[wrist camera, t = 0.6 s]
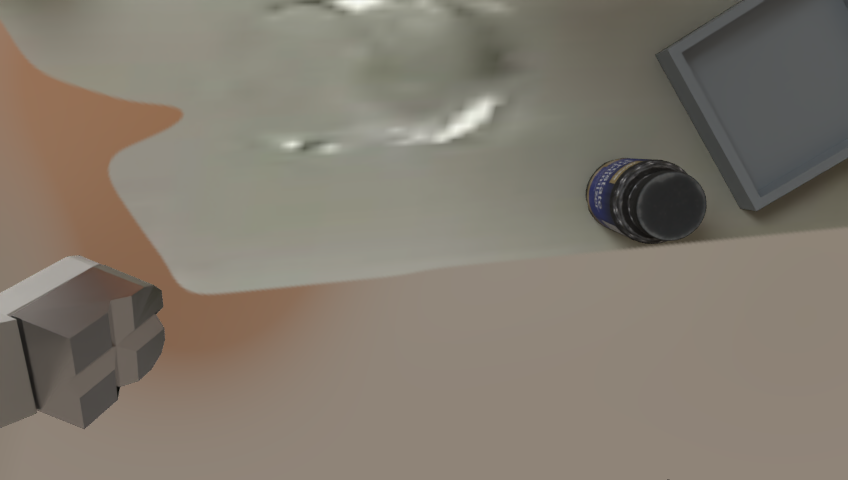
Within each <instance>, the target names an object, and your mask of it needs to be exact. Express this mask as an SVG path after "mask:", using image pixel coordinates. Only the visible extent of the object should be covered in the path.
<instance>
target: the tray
mask: <svg viewBox="0 0 848 480" xmlns="http://www.w3.org/2000/svg"><path fill="white" fill-rule="evenodd" d="M656 57H657V59H658V61H659V62H660V64H661V66H662V68H663V70H664V72H665V73H666V75H667V77H668V79H669V81H670V82H671V84H672V86H673V88H674V90H675V91H676V93H677V95H678V97H679V99H680V100H681V102H682V104H683V106H684V108H685V109H686V111H687V113H688V115H689V117H690V118H691V120H692V122H693V124H694V126H695V127H696V129H697V131H698V133H699V135H700V136H701V138H702V140H703V142H704V144H705V146H706V147H707V149H708V151H709V153H710V155H711V156H712V158H713V160H714V162H715V164H716V165H717V167H718V169H719V171H720V173H721V174H722V176H723V178H724V180H725V182H726V183H727V185H728V187H729V189H730V191H731V192H732V194H733V196H734V198H735V200H736V201H737V203H738V205H739V207H740V208H742V209H747V210H753V211H758V210H759V209H761V208H763V207H764V206H766V205H768V204H770V203H771V202H773V201H775V200H776V199H778V198H780V197H782V196H783V195H785V194H787V193H788V192H790V191H792V190H794V189H795V188H797V187H799V186H800V185H802V184H804V183H806V182H807V181H809V180H811V179H812V178H814V177H816V176H818V175H819V174H821V173H823V172H824V171H826V170H828V169H830V168H831V167H833V166H835V165H836V164H838V163H840V162H842V161H843V160H845V159H847V158H848V0H742V1H741V2H739V3H737V4H736V5H734V6H733V7H731V8H729V9H728V10H726V11H725V12H723V13H721V14H720V15H718V16H717V17H715V18H713V19H712V20H710V21H709V22H707V23H705V24H704V25H702V26H701V27H699V28H697V29H696V30H694V31H693V32H691V33H689V34H688V35H686V36H685V37H683V38H681V39H680V40H678V41H677V42H675V43H673V44H672V45H670V46H669V47H667V48H666V49H664V50H662V51H661V52H659V53H658V54H656Z"/></svg>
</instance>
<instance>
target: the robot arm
mask: <svg viewBox="0 0 848 480" xmlns="http://www.w3.org/2000/svg"><path fill="white" fill-rule="evenodd" d="M162 308H163V299H162V291H161V290H160V289H159V288H157V287H156V286H154V285H152V284H150V283H147V282H144V281H142V280H140V279H137V278H135V277H133V276H130V275H128V274H125V273H123V272H120V271H118V270H115V269H113V268H111V267H108V266H106V265H101V264H99V263H97V262H94V261H92V260H89V259H87V258H84V257H82V256H80V255H79V256H67V257H66V258H64V259H62V260H60V261H58V262H56V263H54V264H53V265H51V266H49V267H47V268H45V269H43V270H42V271H40V272H38V273H36V274H34V275H32V276H31V277H29V278H27V279H25V280H23V281H21V282H20V283H18V284H16V285H14V286H12V287H10V288H9V289H7V290H5V291H3V292H1V293H0V428H2V427H4V426H7V425H9V424H12V423H14V422H16V421H19V420H21V419H24V418H26V417H29V416H31V415H34V414H36V413H37V410H38V411H40V412H43V413H45V414H48V415H50V416H53V417H55V418H58V419H60V420H63V421H66V422H68V423H70V424H73V425H75V426H78V427H80V428H83V429H85V428H86V427H87V426H88V425H89V424H91V423H92V422H93V421H94V420H95V419H96V418H98V417H99V416H100V415H101V414H102V413H103V412H104V411H105V410H107V409H108V408H109V407H110V406H111V405H112V404H113V403H114V402H116V401H117V400H118V395H119V390H120V387H121V386H124V385H127V384H131V383H133V382H137V381H139V380H140V379H141V378H142V377H143V376H145V375H146V374H147V373H148V372H149V371H150V370H151V369H152V368H153V366H154V364H155V363H156V361H157V359H158V358H159V356H160V355H161V352H162V349H163V345H164V341H165V333H164V327H163V325H162V324H161V322H160V320H159V319H158V317H157V315H156V314H157V313H158V312H159V311H160V310H161V309H162Z"/></svg>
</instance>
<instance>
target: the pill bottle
mask: <svg viewBox="0 0 848 480" xmlns="http://www.w3.org/2000/svg"><path fill="white" fill-rule="evenodd" d="M586 200H587V202H588V209H589V211H590V213H591V215H592V216H593V217H594V218H595V219H596V220H597V221H598V222H599V223H600V224H602V225H604V226H605V227H607V228H610V229H612V230H614V231H616V232H618V233H620V234H622V235H625V236H627V237H629V238H631V239H632V240H636V241H638V242H642V243H648V244H655V243H663V242H665V241H672V240H678V239H681V238H684V237H686V236H688V235H689V234H691V233H692V232H693V231H694V230H695V229H697V228H698V226H699V225H700V223H701V222H702V220H703V218H704V215H705V212H706V196H705V193H704V191H703V189H702V187H701V185H700V184H699V183H698V182H697V181H696V180H695V179H694V178H692V177H691V176H689V175H688V174H687V173H686V172H685V171H684V170H683V169H682V168H680V167H679V166H677V165H675V164H673V163H670V162H667V161H663V160H648V159H630V158H621V159H616V160H612V161H608V162H606V163H604V164H603V165H602V166H600V167H599V168H598V169H597V170H596V171H595V172H594V174H593V175H592V176H591V178H590V180H589V182H588V184H587V189H586Z"/></svg>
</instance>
